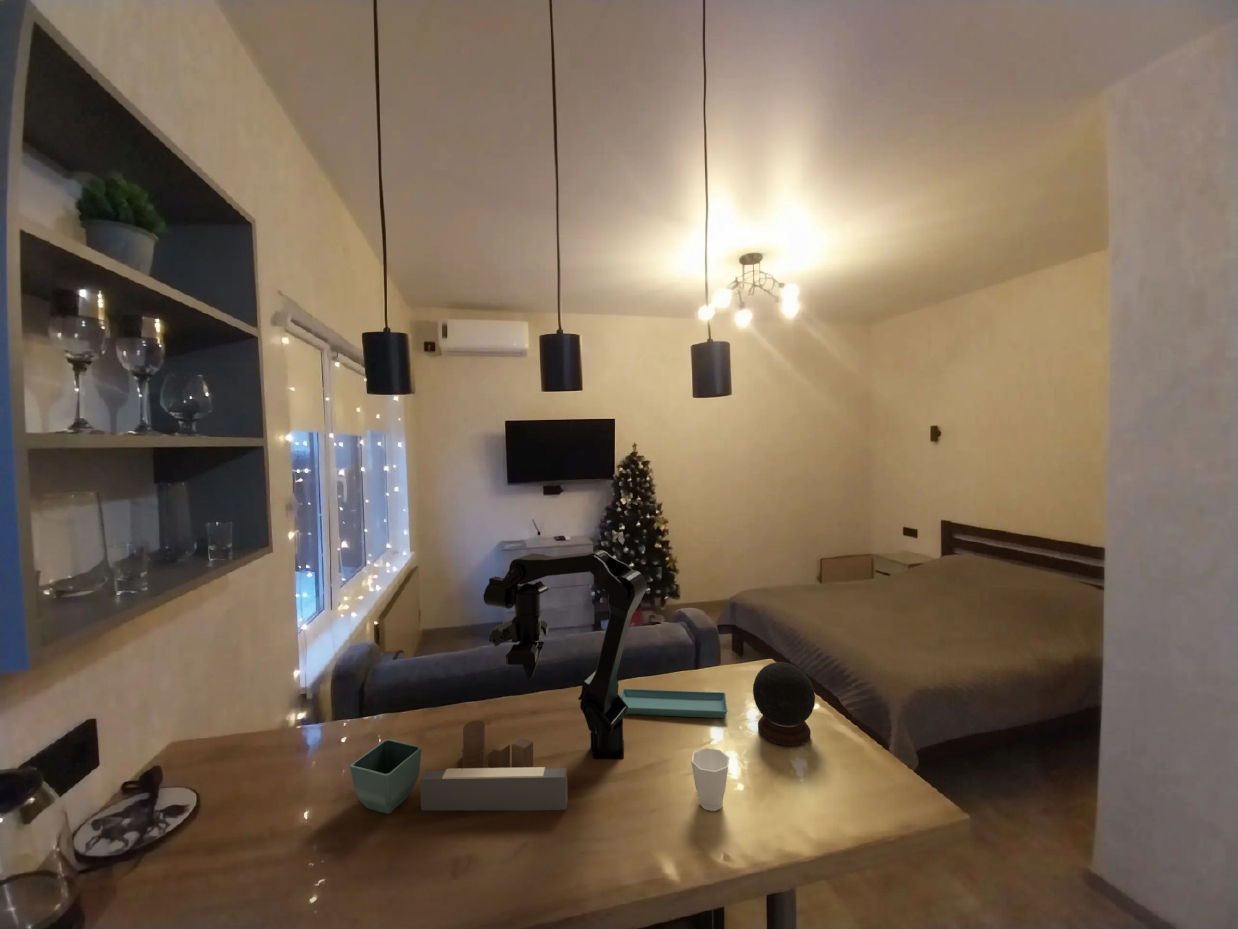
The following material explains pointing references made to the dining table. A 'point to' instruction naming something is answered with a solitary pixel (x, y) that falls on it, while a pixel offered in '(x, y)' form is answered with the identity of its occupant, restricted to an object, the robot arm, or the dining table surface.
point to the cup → (710, 777)
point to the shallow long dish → (675, 703)
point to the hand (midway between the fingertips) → (529, 678)
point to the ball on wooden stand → (784, 703)
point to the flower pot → (386, 774)
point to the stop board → (494, 789)
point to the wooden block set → (498, 755)
